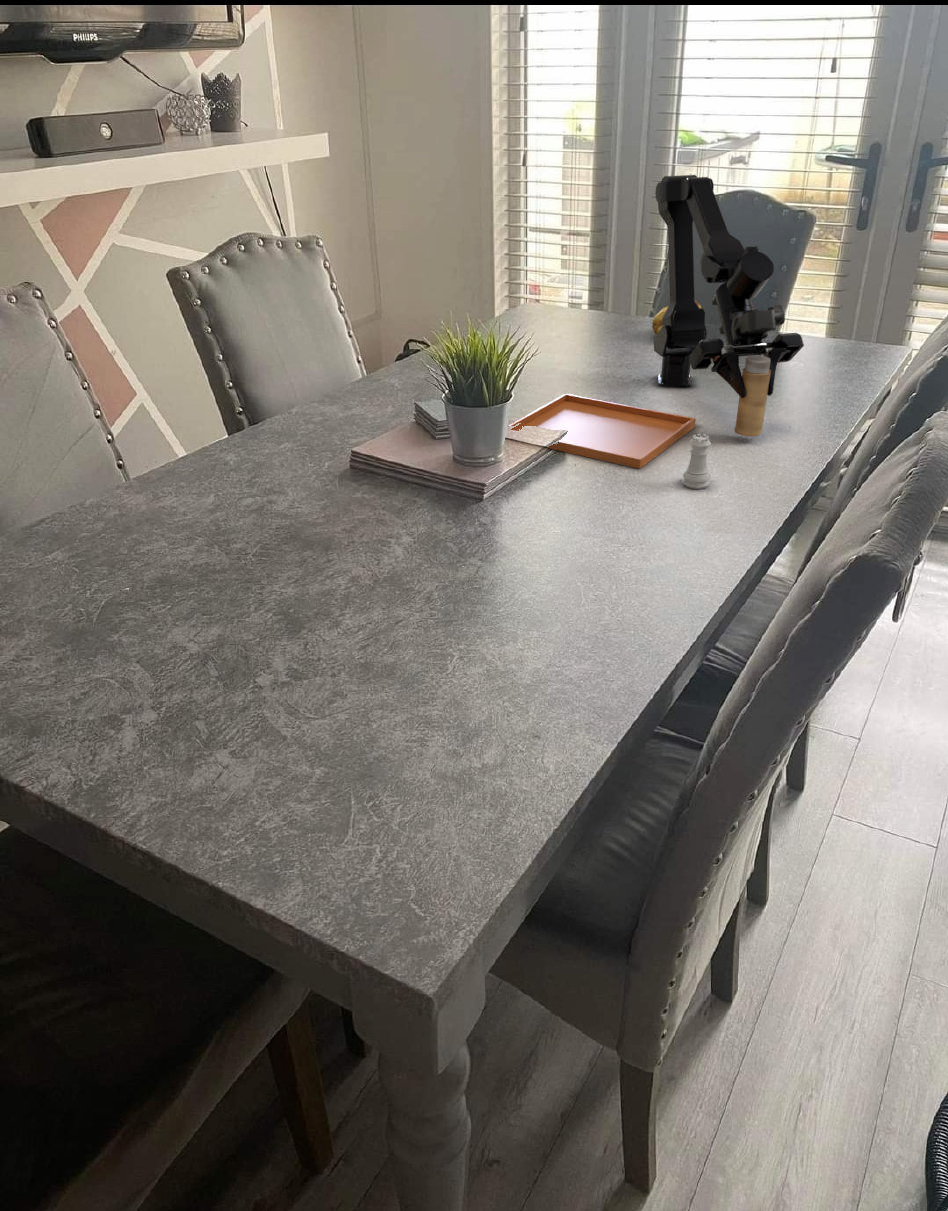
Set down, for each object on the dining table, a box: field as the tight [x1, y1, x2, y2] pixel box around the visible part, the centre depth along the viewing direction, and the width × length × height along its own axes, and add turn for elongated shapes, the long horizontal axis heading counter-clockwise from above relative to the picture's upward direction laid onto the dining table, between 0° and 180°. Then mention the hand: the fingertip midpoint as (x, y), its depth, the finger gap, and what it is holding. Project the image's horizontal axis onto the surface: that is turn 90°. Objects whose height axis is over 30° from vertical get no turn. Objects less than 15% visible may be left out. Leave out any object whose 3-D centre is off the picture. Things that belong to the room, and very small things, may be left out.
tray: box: [509, 393, 697, 470], centre depth 174 cm, size 23×27×2 cm
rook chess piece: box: [681, 433, 712, 490], centre depth 151 cm, size 4×4×8 cm
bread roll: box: [651, 300, 702, 336], centre depth 224 cm, size 13×10×8 cm
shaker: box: [734, 355, 771, 437], centre depth 165 cm, size 5×5×13 cm
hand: (757, 395), depth 164 cm, fingers closed on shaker, 4 cm apart
